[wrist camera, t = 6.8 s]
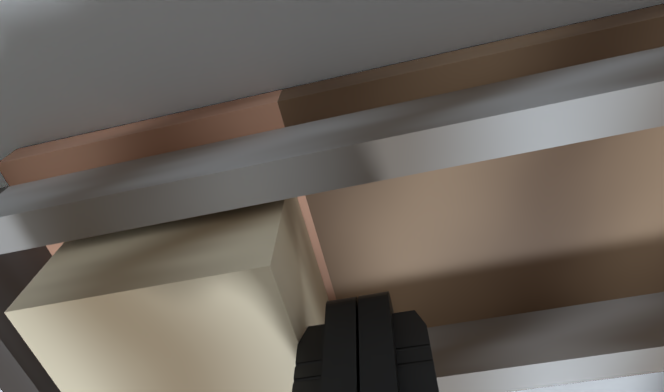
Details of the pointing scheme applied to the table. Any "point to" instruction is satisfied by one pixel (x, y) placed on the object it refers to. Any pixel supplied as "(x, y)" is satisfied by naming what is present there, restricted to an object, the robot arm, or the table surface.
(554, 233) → the shallow wooden tray
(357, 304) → the robot arm
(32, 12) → the table surface
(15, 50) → the table surface
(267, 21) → the table surface
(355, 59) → the table surface
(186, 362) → the birch block
